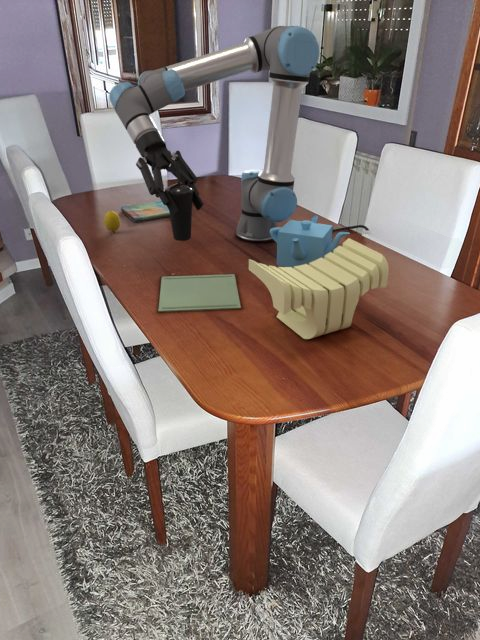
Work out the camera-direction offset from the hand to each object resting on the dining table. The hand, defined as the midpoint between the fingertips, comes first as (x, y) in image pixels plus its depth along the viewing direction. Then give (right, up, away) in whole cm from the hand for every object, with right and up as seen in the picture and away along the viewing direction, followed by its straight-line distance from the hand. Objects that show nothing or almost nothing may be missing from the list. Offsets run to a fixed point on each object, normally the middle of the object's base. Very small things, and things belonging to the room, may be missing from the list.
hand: (188, 210), depth 140 cm
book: (-21, +18, +71) cm, 76 cm away
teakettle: (+34, -12, +25) cm, 44 cm away
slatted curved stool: (+33, -31, -6) cm, 46 cm away
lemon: (-33, +6, +51) cm, 61 cm away
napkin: (+2, -21, +9) cm, 23 cm away
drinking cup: (-2, -6, +7) cm, 9 cm away
